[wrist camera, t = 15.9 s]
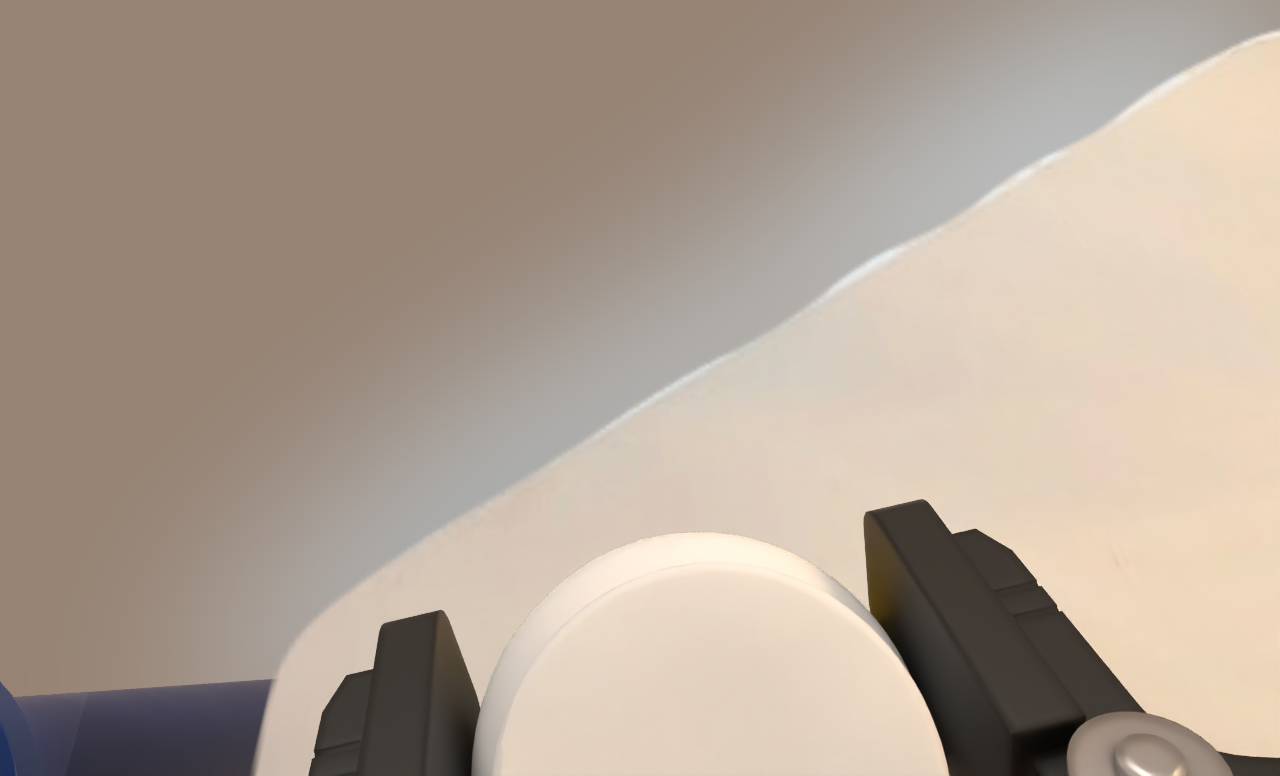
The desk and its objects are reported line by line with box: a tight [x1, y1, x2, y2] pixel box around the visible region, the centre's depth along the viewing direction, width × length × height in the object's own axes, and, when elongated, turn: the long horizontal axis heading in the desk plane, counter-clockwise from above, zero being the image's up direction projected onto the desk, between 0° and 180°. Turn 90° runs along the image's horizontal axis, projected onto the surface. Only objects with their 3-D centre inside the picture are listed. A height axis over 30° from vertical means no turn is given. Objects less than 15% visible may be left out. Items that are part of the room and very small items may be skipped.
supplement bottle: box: [471, 532, 949, 776], centre depth 12 cm, size 5×5×10 cm
